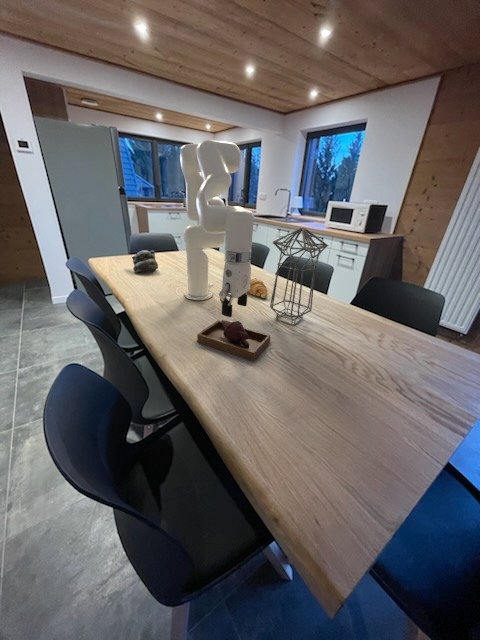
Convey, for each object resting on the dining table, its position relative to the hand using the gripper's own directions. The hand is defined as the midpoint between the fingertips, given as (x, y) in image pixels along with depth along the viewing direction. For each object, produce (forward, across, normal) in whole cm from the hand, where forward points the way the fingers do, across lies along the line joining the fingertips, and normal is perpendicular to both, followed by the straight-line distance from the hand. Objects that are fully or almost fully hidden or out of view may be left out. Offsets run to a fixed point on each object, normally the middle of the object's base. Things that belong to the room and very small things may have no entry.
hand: (234, 310), depth 83 cm
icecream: (+11, 0, 0) cm, 11 cm away
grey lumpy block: (+14, +42, +84) cm, 95 cm away
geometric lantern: (+12, +28, -11) cm, 32 cm away
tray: (+11, 0, -1) cm, 11 cm away
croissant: (+13, +48, +14) cm, 51 cm away
